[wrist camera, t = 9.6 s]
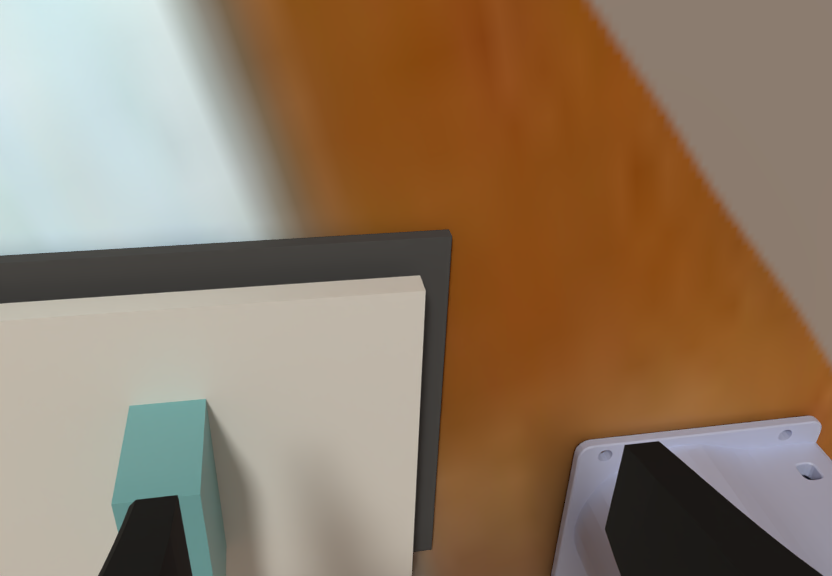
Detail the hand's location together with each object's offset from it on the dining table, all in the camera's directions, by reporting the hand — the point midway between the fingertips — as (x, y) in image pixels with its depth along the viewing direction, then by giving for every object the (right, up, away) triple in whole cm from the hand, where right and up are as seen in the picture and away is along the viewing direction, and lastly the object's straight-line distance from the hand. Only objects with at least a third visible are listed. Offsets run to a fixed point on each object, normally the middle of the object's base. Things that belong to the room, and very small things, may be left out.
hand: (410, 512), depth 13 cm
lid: (-7, -2, +11) cm, 13 cm away
